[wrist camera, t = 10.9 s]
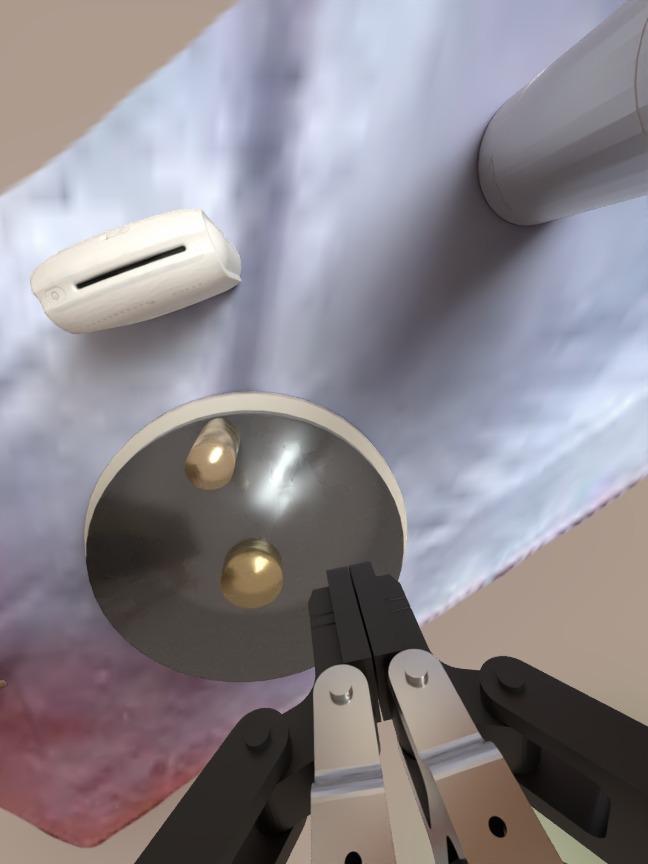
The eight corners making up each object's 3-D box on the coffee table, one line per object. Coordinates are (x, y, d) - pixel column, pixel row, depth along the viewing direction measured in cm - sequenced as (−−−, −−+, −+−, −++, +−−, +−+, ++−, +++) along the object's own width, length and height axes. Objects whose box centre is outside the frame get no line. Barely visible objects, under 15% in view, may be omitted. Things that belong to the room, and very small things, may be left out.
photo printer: (127, 330, 31) (43, 349, 20) (99, 274, 30) (-10, 260, 18) (250, 285, 32) (238, 278, 20) (228, 227, 30) (201, 183, 18)
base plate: (291, 322, 33) (293, 323, 31) (449, 557, 42) (458, 570, 40) (20, 514, 35) (5, 526, 33) (228, 696, 45) (226, 713, 43)
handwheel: (44, 444, 31) (-25, 488, 24) (383, 383, 33) (414, 407, 26) (147, 693, 40) (120, 779, 33) (409, 634, 42) (438, 704, 35)
